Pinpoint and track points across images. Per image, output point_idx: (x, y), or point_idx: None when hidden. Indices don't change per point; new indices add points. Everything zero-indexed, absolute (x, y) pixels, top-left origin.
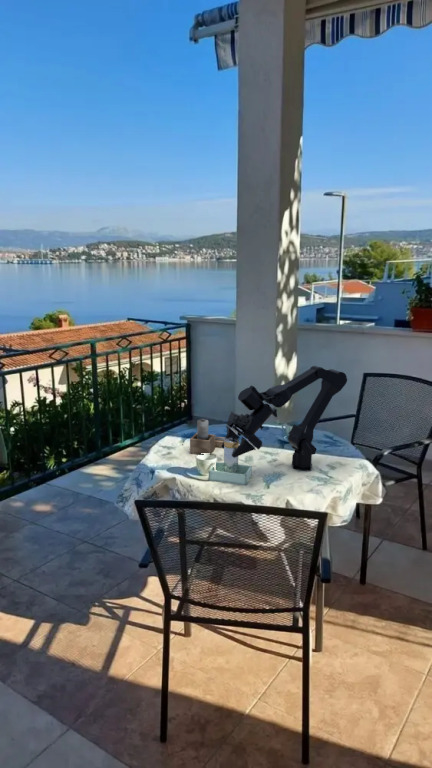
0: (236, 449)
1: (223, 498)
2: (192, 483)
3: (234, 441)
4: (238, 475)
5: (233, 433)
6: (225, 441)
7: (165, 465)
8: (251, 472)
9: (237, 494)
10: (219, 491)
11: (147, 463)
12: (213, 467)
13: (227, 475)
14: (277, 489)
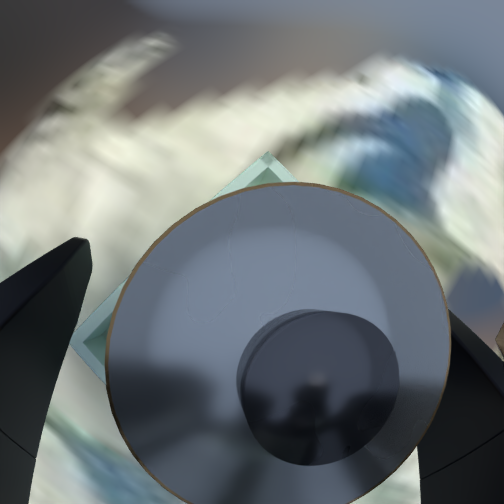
0: (22, 291)
1: (46, 145)
2: (267, 98)
3: (183, 398)
4: (105, 301)
5: (498, 493)
6: (296, 186)
7: (467, 127)
8: None
9: (36, 225)
10: (109, 161)
11: (483, 97)
12: None
13: None
14: None
